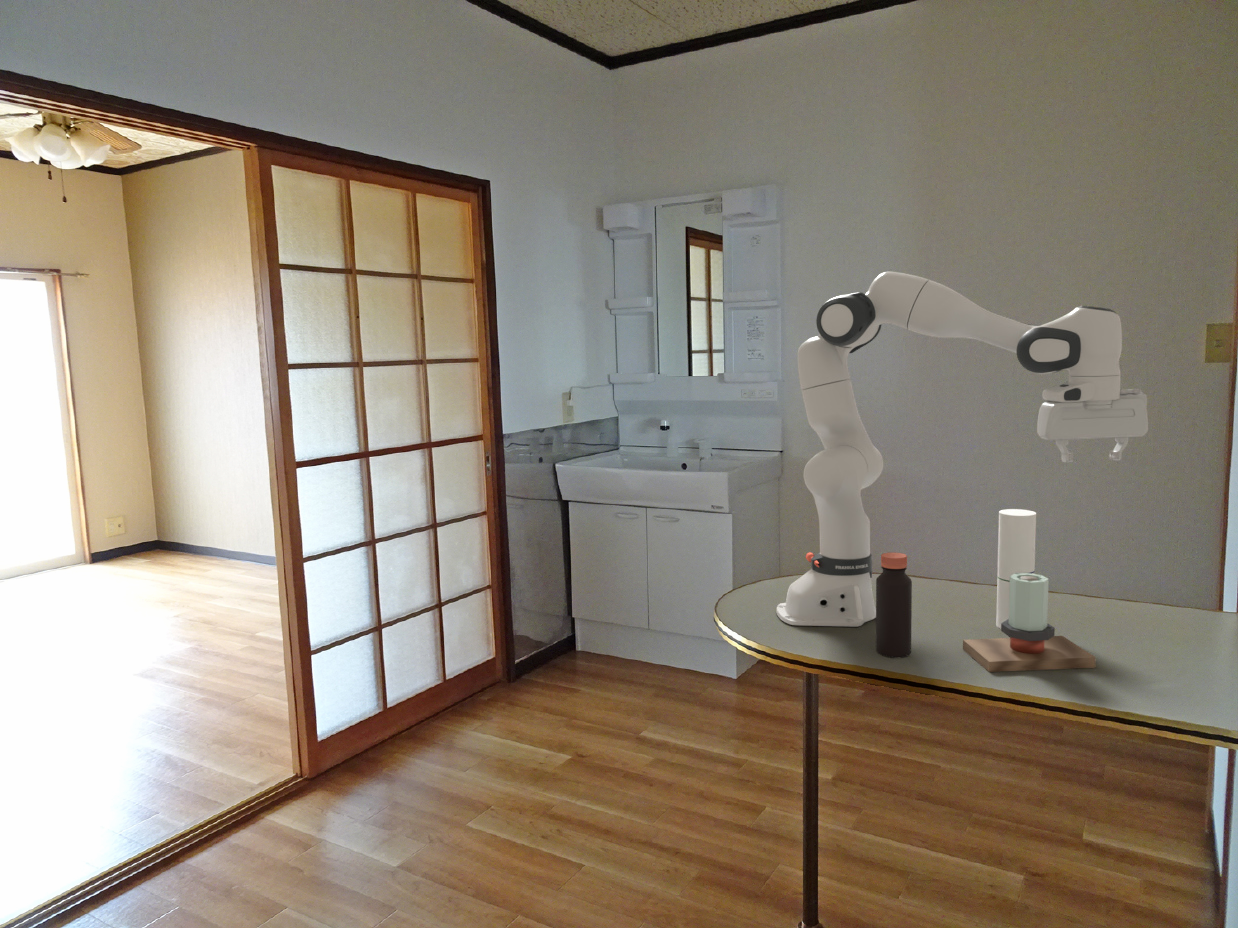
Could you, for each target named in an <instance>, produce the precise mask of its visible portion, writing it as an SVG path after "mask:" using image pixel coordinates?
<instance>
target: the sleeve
mask: <svg viewBox="0 0 1238 928" xmlns="http://www.w3.org/2000/svg"><path fill="white" fill-rule="evenodd" d="M1022 576H1032V577H1036V578H1038V581H1027V580H1021V579H1020V577H1022ZM1049 583H1050V582H1049V578H1048V577H1046V576H1044V575H1042V574H1036V573H1034V574H1030V573H1019V574H1013V575H1012V576H1010V589H1009V625H1011V626H1012V627H1014V628H1016V629H1021V630H1026V631H1042V630H1044V629H1045V628H1046V627H1047V623H1048V613H1049V612H1048V608H1049V607H1048V606H1049Z"/></svg>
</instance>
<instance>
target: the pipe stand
mask: <svg viewBox="0 0 1238 928" xmlns="http://www.w3.org/2000/svg"><path fill="white" fill-rule="evenodd" d="M1020 579H1021V580H1027V581H1038V578H1036V577H1032V576H1022V577H1020ZM962 650H963V651H964V652H965V653H966V654H968V655H969V656H970V658H972V659H973V660H975V661H976V662H977V663H978V664H979V665H980V666H982V667H983V668H984V669H985V670H986V671H987V672H988V673H992V672H993V673H994V672H995V673H997V672H1021V671H1041V670H1042V671H1043V670H1045V671H1046V670H1068V669H1070V670H1071V669H1090V668H1091V669H1092V668H1096V661H1097V659H1096V656H1094V655H1093V654H1091V653H1090V652H1088V651H1086V650H1085V649H1084V648H1082V647H1080V646H1079V645H1077V644H1076V643H1075V642H1073V641H1072V640H1070V639H1069V638H1067V637H1065V636H1064V635H1054V636H1053V637H1051V638H1050V639H1049V640H1042V641H1026V640H1022V639H1017V638H1012V637H1000V638H999V637H998V638H973V639H963V640H962Z"/></svg>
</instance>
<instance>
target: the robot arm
mask: <svg viewBox="0 0 1238 928" xmlns="http://www.w3.org/2000/svg"><path fill="white" fill-rule="evenodd" d="M815 321H816V322H815V323H816V328H817V331H818V335H816V336H813V337H810V338H808V339H807V340H805V341H804V342H802V343H801V345H800V346H799V347H798V348H797V349H798V350H797V370H798V371H797V372H798V379H799V384H800V385H799V386H800V390H801V394H802V395H801V396H802V399H803V404H804V408H805V413H806V417H807V418H806V419H807V423H808V424H809V426H810V428H811V429H812V430H814V432H815V433H816V434H817V436H818V438H819V439H820V441H821V444H822V446H823V448H824V449H823V450H821V451H819V452H817V453H816V454H815V455H814V456H812V458H810V459H809V460H808V461H807V463H806V464H805V466H804V469H803V481H804V484H805V486H806V488H807V490H808V491H809V492H810V494H812V496H813V499H814V500H813V501H814V503H815V506H816V507H815V508H816V511H817V515H818V523H819V524H818V525H819V526H818V527H819V552H818V553H816V554H814V553H813V552H807V553H806V554H805V559H806V560H807V561H808V562H809V563H810V567H811V569H809V570H808V571H807V572H806V573H804V574H803V575H801V576H800V577H798V578H797V579H796V580H795V581H793V582H791V583H790V585H789V587H788V590H787V591H786V592H787V594H786V599H785V602H781V603H778V604H777V606H776V615H777V616H778V618H779V620H781V621H782V622H784V623H785V624H787V625H790V626H791V625H792V626H805V627H806V626H809V627H812V626H815V627H817V626H818V627H854V628H855V627H861V626H862V625H864V624H865V623H866V622H869V621H872V620H874V619H876V603H875V600H874V595H873V589H872V588H873V587H872V578H873V555H872V553H871V520H870V518H869V516H868V515H867V513H866V512H865V510H864V506H863V501H862V496H861V493H862V492H861V491H862V490H864V489H865V488H868V487H870V486H871V485H873V484H874V482H876V481H877V479H878V478H879V477H880V476H881V475H882V472H883V469H884V459H883V456H882V454H881V451H880V450H879V449H877V447H875V445H874V444H873V442H872V440H871V438H870V436H869V434H868V432H867V429H866V428H865V425H864V423H863V421H862V419H861V415H860V413H859V411H858V410H859V409H858V406H857V405H858V404H857V401H856V397H855V393H854V389H853V384H852V380H851V375H850V370H849V365H848V356H849V355H850V354H853V353H855V352H857V350H860V349H861V348H863V347H865V346H866V345H868V344H869V343H871V342H872V341H873V340H875V339H876V337H878V335H879V333H880V331H881V329H882V325H883V324H889V325H893V326H897V327H900V328H902V329H905V330H908V331H910V332H914V333H916V334H920V335H924V336H928V337H933V338H939V339H944V338H945V339H954V338H956V339H959V338H960V339H970V340H971V339H972V340H976V341H979V342H983V343H986V344H988V345H991V346H994V347H998V348H1000V349H1003V350H1006V351H1009V352H1011V353H1014V354H1016V357H1017V360H1018V362H1019V364H1020V365H1021V366H1022V367H1023V368H1024V369H1025V370H1027V371H1029V372H1031V373H1033V374H1037V375H1048V374H1054V373H1059V372H1062V371H1064V370H1066V371H1068V380H1067V381H1065V382H1062V383H1060V384H1057V385H1054V386H1051V387H1048V388H1045V389H1044V390H1043V391H1042V393H1041V395H1042V396H1041V397H1042V399H1043V400H1045V401H1044V402H1043V403H1042V404H1041V405H1040V406H1039V410H1038V414H1037V415H1038V417H1037V424H1036V432H1037V435H1038V437H1039V438H1040V439H1042V440H1046V441H1055V445H1056V447H1057V448H1058V450H1059V451H1060V453H1061V454H1060V455H1061V457H1060V459H1061V462H1062V463H1073V462H1074V457H1075V456H1074V453H1073V452H1070V451H1069V450H1068V447H1067V446H1068V445H1069V442H1070V440H1082V439H1084V440H1085V439H1107V438H1108V439H1109V438H1110V439H1111V438H1114V441H1115V442H1116V445H1115V446H1114V448H1113V450H1108V451H1109V452H1108V455H1109V456H1108V459H1109V461H1121V460H1122V457H1123V455H1122V453H1123V451H1124V450H1125V448H1126V447H1127V445H1128V443H1129V438H1130V437H1131V438H1133V437H1144V436H1146V434H1147V433H1148V432H1149V419H1148V418H1149V417H1148V410H1147V406H1148V395H1147V394H1146V393H1145V392H1144V391H1142V390H1141V389H1140V388H1131V389H1129V388H1127V389H1125V388H1122V389H1121V378H1122V377H1121V369H1120V357H1121V354H1122V352H1123V351H1122V350H1123V328H1122V322H1121V317H1120V315H1119V314H1118V313H1117V312H1116V311H1115V310H1113V309H1111V308H1107V307H1101V306H1100V307H1098V306H1092V305H1091V306H1090V305H1080V306H1076V307H1074V309H1073V310H1071V311H1070V312H1068V313H1067V314H1065V315H1062V316H1060V317H1059V318H1056V319H1055V320H1052V321H1049V322H1046V323H1044V324H1029V323H1025V322H1023V321H1018V320H1017V319H1012V318H1010V317H1007V316H1004V315H1001V314H997V313H995V312H991V311H989V310H988V309H985V308H983V307H982V306H979V305H978V304H977V303H975V302H973V301H972V300H970V299H969V298H967V297H966V296H964V295H962V294H961V293H960V292H957V291H956V290H954V289H952V288H950V287H949V286H946V285H944V284H943V283H939V282H938V281H934V280H932V279H929V278H925V277H921V276H920V275H919V276H918V275H915V274H908V273H904V272H900V271H899V272H898V271H891V270H890V271H884V272H881V273H880V274H878V275H877V277H875V278H874V280H873V281H872V282H871V284H870V285H869V287H868V290H867V291H866V293H864V292H862V291H861V292H860V291H859V292H853V293H847V294H841V295H837V296H835V297H832V298H830V299H828V300H827V301H825V302H824V303H823V304H822V305H821V307H820V308H819V310H818V312H817V315H816V320H815Z"/></svg>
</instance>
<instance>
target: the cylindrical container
mask: <svg viewBox="0 0 1238 928" xmlns="http://www.w3.org/2000/svg"><path fill="white" fill-rule="evenodd" d="M1036 531H1037V512H1035V511H1033V510H1029V509H1021V508H1007V509H1001V510H999V511H998V534H997V535H998V539H997V540H998V542H997V575H996V576H997V578H996V579H997V581H996V582H997V583H996V585H997V587H996V620H995V621H996V623H995V626H996V627H997V628H998V629H1000V630H1001V623H1003V622H1004V621H1006V620H1007V619H1009V589H1010V576H1012V575H1013V574H1019V573H1030V574H1035V567H1036V565H1035V563H1036Z"/></svg>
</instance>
